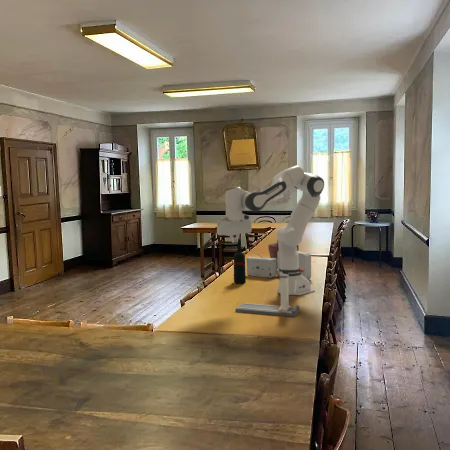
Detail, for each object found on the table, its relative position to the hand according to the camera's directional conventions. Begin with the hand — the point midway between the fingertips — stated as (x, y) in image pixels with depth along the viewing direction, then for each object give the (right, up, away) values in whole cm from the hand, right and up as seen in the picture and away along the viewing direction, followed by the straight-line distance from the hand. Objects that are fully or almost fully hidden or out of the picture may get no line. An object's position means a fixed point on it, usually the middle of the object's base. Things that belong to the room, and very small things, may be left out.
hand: (234, 242), depth 246 cm
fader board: (+16, -34, -17) cm, 41 cm away
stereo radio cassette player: (+20, -27, +73) cm, 80 cm away
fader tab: (+24, -32, -21) cm, 45 cm away
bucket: (+39, -24, +100) cm, 110 cm away
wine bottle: (+5, -29, +53) cm, 60 cm away
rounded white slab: (+42, -27, +68) cm, 84 cm away
